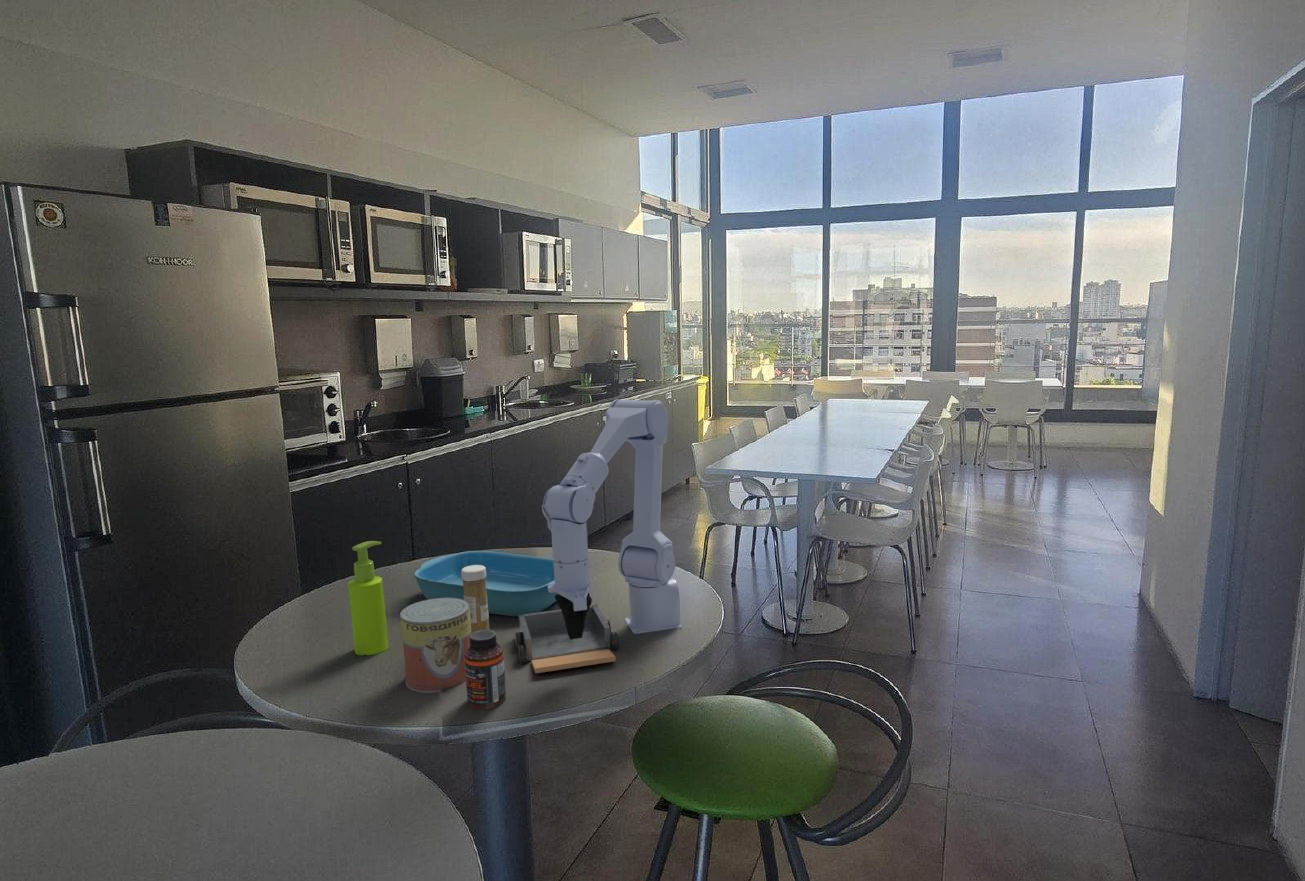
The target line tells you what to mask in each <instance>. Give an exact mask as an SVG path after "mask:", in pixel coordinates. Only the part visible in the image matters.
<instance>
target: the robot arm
mask: <svg viewBox="0 0 1305 881" xmlns="http://www.w3.org/2000/svg"><path fill="white" fill-rule="evenodd" d="M605 422H606V423H605V425H604V427H603V428H602V431H601V433H600V434H599V435H598V438H596V442H595V443H594V445H593V446H592V448H591V450H590V451H589V452H583V453H581V454H579V455H578V457H577V458H576V461H575V462H574V463H573V465H572V466H571V468H570V469H569V470H568V472H567V473H566V475H565V476H564V478H563V479H562V480H561V481H560V483H559V484H556V485H553V486H552V487H550V488H549V489H548V490H547V491H546V493H545V495H544V497H543V502H542V505H541V511H542V515H543V516H544V517H545V519H546V521H547V529H548V530H549V531H550V532H551V546H552V559H553V564H554V580H555V584H553V585H548V591H549V592H550V593H553V592H556V593H558V594H557V595H555V599H556V603H557V606H558V607H559V608H560V609H561V611H562V614H563V617H564V621H565V626H566V630H567V633H568V636H569V638H570V639H577V638H582V636H583V631H584V624H585V619H586V615H587V612H588V609H589V607H590V605H592V602H593V599H592V597H591V596H590V591H591V589H592V582H591V581H590V580H591V579H590V565H589V546H588V531H587V530H588V528H587V521H588V520H589V518H590V517H591V516H592V512H593V510H594V503H595V501H596V493H597V492H598V490H599V489H600V487H601V486H602V484H603V483H604V481H605V480H606V478H607V477H608V475H609V472H610V471H609V470H610V468H609V465H608V463H609V462H610V461H611V459H612V458H613V457H614V455H615V454H616V453H617V452H618V451H619V450H620V448H621V447H622V446H623V444H624V443H625V442H628V443H630V444H631V446H632V447H633V449H635V454H634V455H635V458H634V459H635V461H634V462H635V463H634V487H633V490H634V491H633V519H632V520H633V522H632V532H630V533H629V534H628V535H627V536H625V537H623V539H622V540H621V548H620V551H619V552H620V553H619V555H618V560H617V566H618V570H619V574H620V575H621V576H622V577H624V582H625V583H628V595H629V596H628V599H629V602H628V603H629V617H626V618H624V621H625V623H626V624H627V626H628V627H629V629H630V630H631V631H632V634H635V635H637V634H643V633H651V632H659V631H665V630H671V629H682V624H681V600H680V599H681V598H680V596H681V595H680V590H679V585H678V583H677V580H676V578H674V577H673V575H674V574H675V570H676V559H675V556H674V548H673V547H674V543H673V542H672V541H671V540H670V539H669V538H668V537H667V536H666V535H665V534H664V533H663V532H662V531H661V513H662V511H661V510H662V508H661V507H662V506H661V505H662V483H663V482H662V479H663V455H664V454H663V450H664V445H665V444H666V443H668V435H669V434H668V432H669V430H668V428H669V411H668V410H667V409H666V407H665V405H664V403H663V402H662V401H661V400H660V399H653V400H642V399H641V400H639V399H637V400H636V399H635V400H633V399H621V398H620V399H619V398H617V399H614V400H612V402H611V403H610V405H609V407H608V409H607V410H606V411H605ZM560 609H559V610H560Z"/></svg>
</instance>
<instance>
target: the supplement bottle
mask: <svg viewBox="0 0 1305 881" xmlns="http://www.w3.org/2000/svg"><path fill="white" fill-rule="evenodd" d="M504 655H505V654H504V649H503V646H502V645H501V644H500V643H498V642H497V633H496V632H495V631H494V630H491V629H490V630H480V631H476V632H474V633H472V634H471V635H470V646H469V647H468V648H467V649H466V651H465V655H464V657H465V672H466V681H465V683H466V684H465V686H466V699H467V705H468V706H469V707H470V708H472V709H475V710H489V709H493V708H497V707H498V706H500V705H502V704H503V703H505V701H506V700H507V690H506V687H507V686H506V672H505V660H504V659H505V657H504Z"/></svg>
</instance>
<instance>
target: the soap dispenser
mask: <svg viewBox="0 0 1305 881" xmlns="http://www.w3.org/2000/svg"><path fill="white" fill-rule="evenodd" d="M382 543H383V542H382V541H377V540H368V541H367V540H366V541H364V542H363V541H362V542H361V543H358V544H356V545H354V546H352V547H351V549H352V551H355V552H357V561H355V562H354V563H353V574H354V579H352V580H350V581H349V582H348V583H347V586H348V597H349V598H348V599H349V606H350V607H349V608H350V617H351V626H352V635H353V636H352V637H353V646H354V648H353V649H354V653H355V654H356V655H357V656H363V655H367V656H372V655H373V656H374V655H378V654H380V653H383V652H385V651H386V650H387V649H388V648H389V638H388V627H387V616H386V615H387V614H386V607H385V605H386V604H385V603H386V602H385V593H384V583H383V578H382V577H381V576H377V575H376V574H375V567H374V566H375V565H374V561H373V560H371V559H369V553H368V549H369V548H371V547H374V546H378V545H382ZM382 651H383V652H382Z"/></svg>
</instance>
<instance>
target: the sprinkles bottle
mask: <svg viewBox="0 0 1305 881" xmlns="http://www.w3.org/2000/svg"><path fill="white" fill-rule="evenodd" d="M461 576H462V581H463V589H464V600H465V601H467V602H468V603H469V604H470V621H471V634H472V633H474V632H476V631H480V630H491V628H490V620H489V618H490V617H489V614H490V613H488V601H487V592H486V568H485V567H484V566H482V565H471V566H467V567H464V568H463V569H462V570H461Z"/></svg>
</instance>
